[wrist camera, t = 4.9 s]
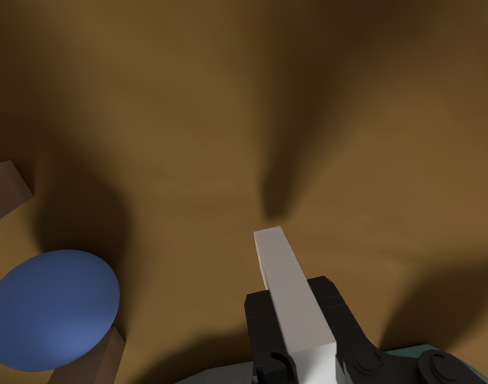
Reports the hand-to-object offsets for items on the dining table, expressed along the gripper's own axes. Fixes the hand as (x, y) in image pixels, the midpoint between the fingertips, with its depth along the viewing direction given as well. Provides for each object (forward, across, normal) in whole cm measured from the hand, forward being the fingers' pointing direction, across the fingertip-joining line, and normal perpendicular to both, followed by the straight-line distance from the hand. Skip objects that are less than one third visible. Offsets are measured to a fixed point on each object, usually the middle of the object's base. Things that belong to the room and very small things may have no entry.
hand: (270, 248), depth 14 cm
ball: (-1, +11, 0) cm, 11 cm away
